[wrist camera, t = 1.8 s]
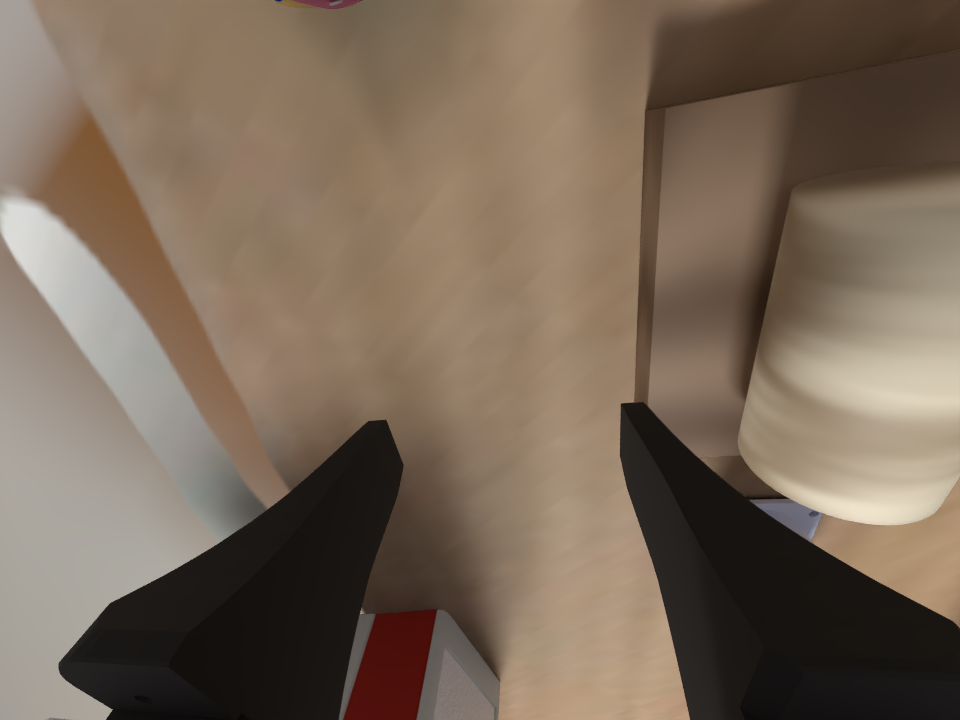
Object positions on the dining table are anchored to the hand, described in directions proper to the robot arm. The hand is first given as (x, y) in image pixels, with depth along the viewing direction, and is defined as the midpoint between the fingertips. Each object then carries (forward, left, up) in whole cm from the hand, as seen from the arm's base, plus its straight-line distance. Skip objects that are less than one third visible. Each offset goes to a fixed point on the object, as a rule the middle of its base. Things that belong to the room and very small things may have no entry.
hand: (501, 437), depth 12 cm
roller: (0, -12, -3) cm, 12 cm away
